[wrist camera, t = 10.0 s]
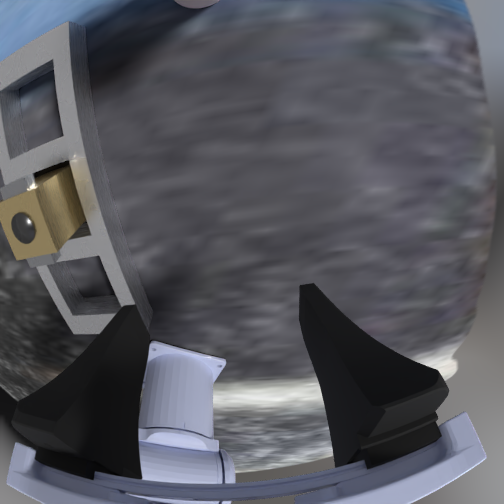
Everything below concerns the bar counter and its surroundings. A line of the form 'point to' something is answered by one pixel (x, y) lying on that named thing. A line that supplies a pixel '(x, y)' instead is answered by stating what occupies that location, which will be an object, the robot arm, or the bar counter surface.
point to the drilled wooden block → (41, 215)
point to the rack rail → (84, 172)
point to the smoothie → (196, 3)
